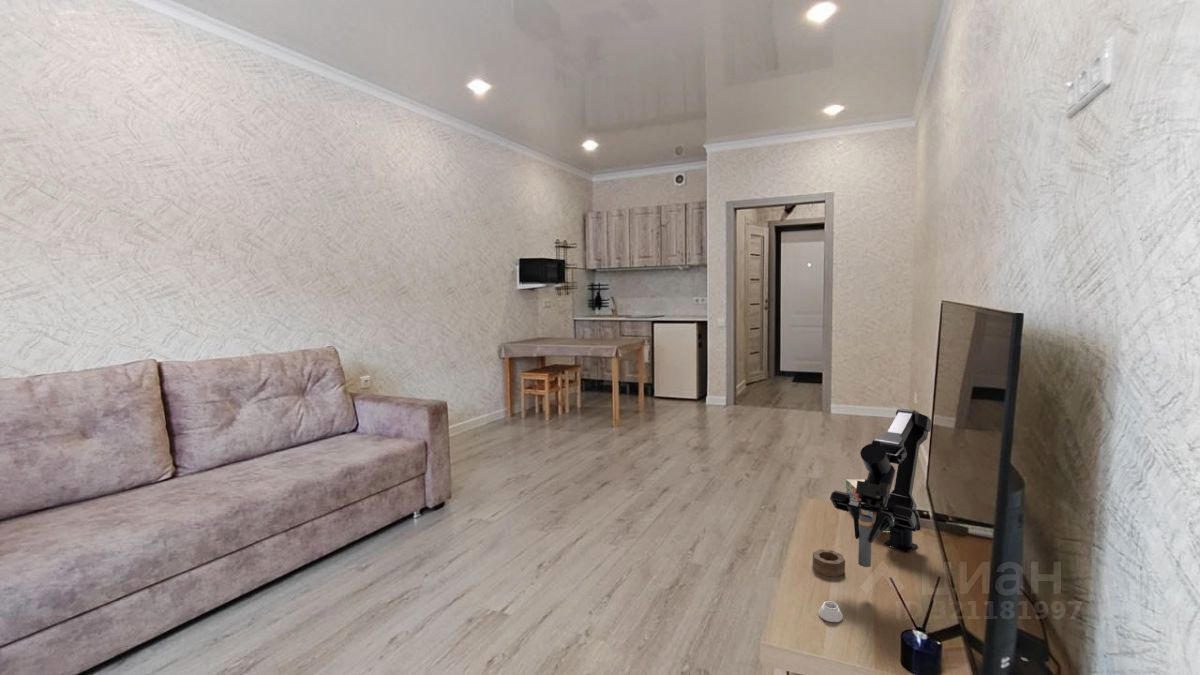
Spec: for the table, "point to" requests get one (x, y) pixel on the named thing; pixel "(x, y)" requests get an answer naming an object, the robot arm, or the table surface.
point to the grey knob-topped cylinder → (864, 540)
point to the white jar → (830, 612)
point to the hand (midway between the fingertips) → (863, 540)
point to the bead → (828, 562)
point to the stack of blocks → (851, 490)
